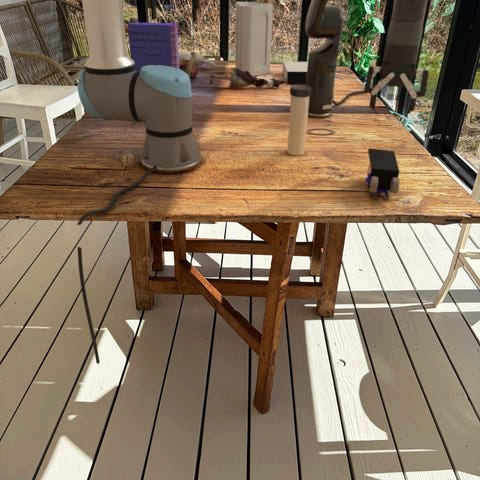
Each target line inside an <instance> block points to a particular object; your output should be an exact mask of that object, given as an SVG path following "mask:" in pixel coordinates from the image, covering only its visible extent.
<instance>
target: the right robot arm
mask: <svg viewBox="0 0 480 480" xmlns="http://www.w3.org/2000/svg"><path fill="white" fill-rule="evenodd" d="M329 1H330V0H311V2H310V5H309V8H308V11H307V15H306V18H305V27H304V28H305V34H306V36H307V37H308V38H310V39H315V40H316V39H317V40H318V39H319V40H320V39H322V40H325V41H324V42H323V43H322V44H321V45H319V46H318V47H315V48H313V49H311V50H310V51H309V52H308V56H307V62H308V67H307V79H306V84H305V85H307V86H310V87H311V95H310V96H309V107H308V117H309V118H310V117H311V118H318V119H319V118H320V119H321V118H328V117H330V116H332V109H333V108H332V107H333V105H334V106H340V105H341V104H343V103H344V102H345V101H347V100H348V99H349V98H350V97H351V96H353V95H358V94H359V95H360V94H366V93H369V94H370V100H369V104H368V105H369V108H370V109H371V111H376V110H375V109H376V104H377V98H378V93H379V91H381V90H382V89H383V88H384V87H385V86H388V88H389V87H391V88H393V87H396V88H404V87H405V88H406V90H407V92H408V93H409V95H410V96H409V101H408V106H407V109H406V110H407V111H406V113H407V114H409V115H410V114H411V112H414V110H415V107H416V103H417V99H418V98H420V97H425V96H426V92H427V86H428V80H429V69H428V68H423V69H417V61H418V56H419V51H420V46H421V42H422V37H423V30H424V29H423V28H424V20H425V15H426V9H427V4H428V0H394V1H393V7H392V12H391V18H390V23H389V26H388V30H387V35H386V42H385V47H384V54H383V60H382V64H381V66H376V65H373V64H370V65H369V66H368V69H367V75H366V79H365V83H364V88H363V90H358V91H352V92H350V93H348V94H347V95H346V96H345V97H343V99H341V101H339V102H337V101H335V99H334V97H335V94H334V90H335V82H336V81H335V80H336V73H337V70H336V69H337V62H338V56H339V52H340V45H341V40H342V35H343V27H344V11H343V8H342V7H341V6H339V5H328V3H329ZM378 72H379V74H380V76H381V79H380V80H379V81H378V82H377V84H376V85H375V86H374V87H373V86H372V85H371V84H372V79H373V77H375V76H376V75H377V73H378ZM416 75H417V76H418V80H420V88H419V90H416V89H415V87H414V85H413V83H412V80H413V79H414V77H416Z"/></svg>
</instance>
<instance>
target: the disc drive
mask: <svg viewBox="0 0 480 480" xmlns="http://www.w3.org/2000/svg"><path fill="white" fill-rule="evenodd" d="M307 67H308V61H282V69H281V71H282V74H283V76H284V80H286V84H287V85H306V79H307Z"/></svg>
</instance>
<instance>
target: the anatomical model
mask: <svg viewBox="0 0 480 480" xmlns="http://www.w3.org/2000/svg"><path fill="white" fill-rule="evenodd" d="M195 52H196V51H191V52H190V54H191V55H192V57H191V59H190V60H189V59H185V58H183V59H181V61H180V62H179V69H180V70H182V71H184V72H185V73H187V74H188V76H189V78H190V79H193V78H196V77H197V76H198V74H199V67H198V68H197V66H196V64H195V62H194V61H195V59H196V53H195Z"/></svg>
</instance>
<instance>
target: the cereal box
mask: <svg viewBox="0 0 480 480" xmlns="http://www.w3.org/2000/svg"><path fill="white" fill-rule="evenodd" d="M126 25H127V34H128V43H129V44H128V45H129V56H130V58H131V59H132V60H133V61H134V62H135V71H136V72H140V70H141V68H142V67H144V66H147V65H156V66H158V65H163V66H169V67H174V68H177V69H179V52H180V51H179V35H178V23H175V22H174V23H171V22H170V23H169V22H133V21H131V22H130V21H129V22H128V23H127V24H126Z"/></svg>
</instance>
